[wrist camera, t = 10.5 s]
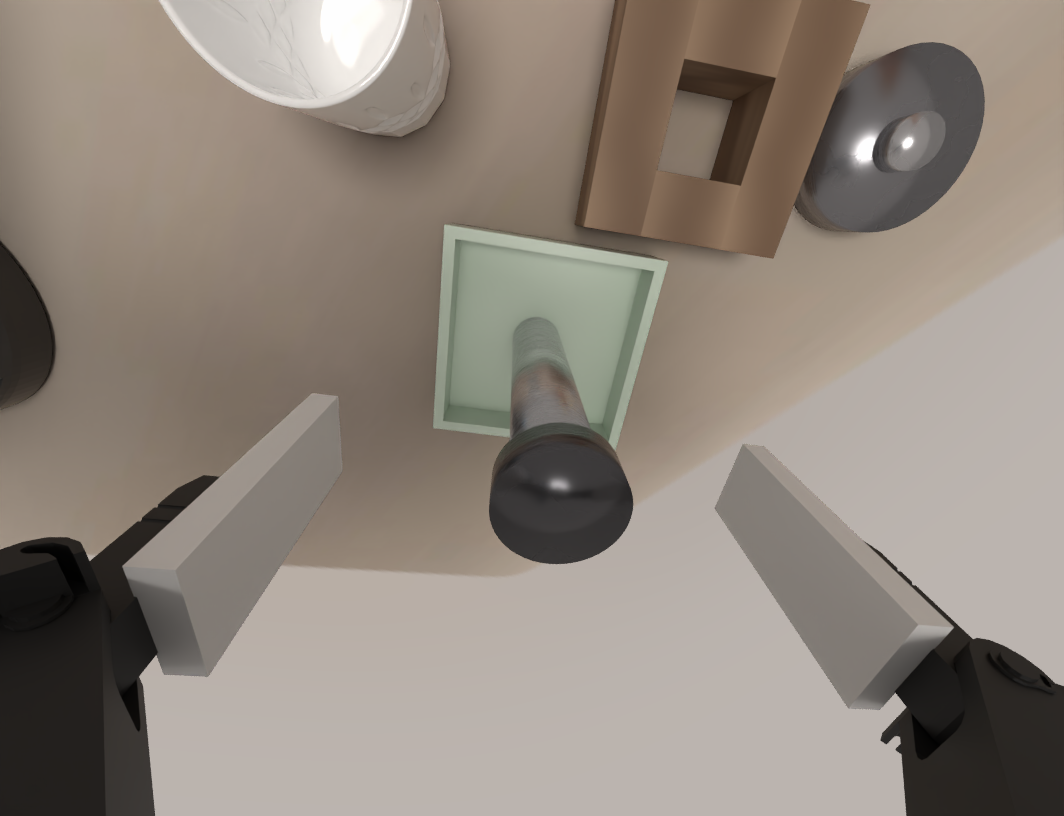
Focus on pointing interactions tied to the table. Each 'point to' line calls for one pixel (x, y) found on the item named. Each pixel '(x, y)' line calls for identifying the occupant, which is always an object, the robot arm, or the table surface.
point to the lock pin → (554, 461)
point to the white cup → (327, 56)
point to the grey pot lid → (894, 139)
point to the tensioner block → (753, 124)
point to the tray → (548, 292)
